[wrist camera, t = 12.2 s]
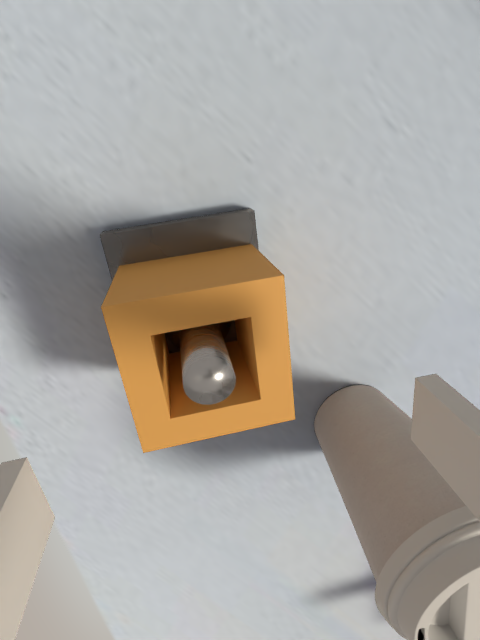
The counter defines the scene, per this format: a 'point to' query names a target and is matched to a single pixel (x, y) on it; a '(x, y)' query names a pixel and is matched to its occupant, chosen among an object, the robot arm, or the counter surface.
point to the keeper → (176, 240)
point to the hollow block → (193, 311)
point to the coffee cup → (403, 517)
